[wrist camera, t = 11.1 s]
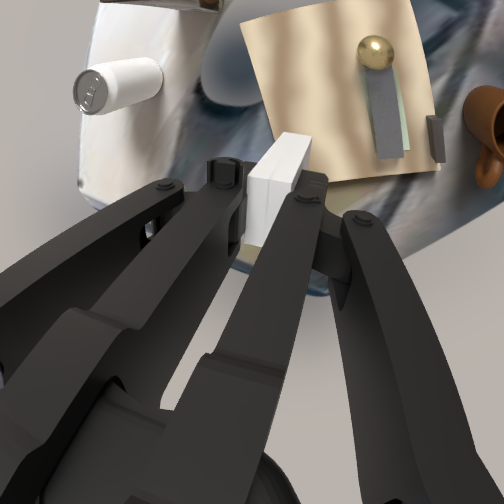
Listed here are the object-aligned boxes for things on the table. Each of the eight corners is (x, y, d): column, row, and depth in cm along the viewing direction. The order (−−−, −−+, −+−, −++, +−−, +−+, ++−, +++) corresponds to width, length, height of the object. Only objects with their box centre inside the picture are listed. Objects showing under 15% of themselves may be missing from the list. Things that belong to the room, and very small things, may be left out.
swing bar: (353, 38, 28) (354, 36, 26) (386, 36, 27) (390, 33, 24) (373, 153, 35) (375, 162, 33) (404, 151, 34) (408, 160, 31)
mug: (483, 179, 34) (510, 210, 27) (439, 153, 35) (461, 180, 27) (517, 104, 27) (554, 120, 19) (473, 73, 27) (505, 80, 20)
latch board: (404, -4, 25) (412, -12, 21) (436, 165, 36) (446, 178, 32) (244, 25, 32) (230, 21, 29) (290, 182, 43) (283, 197, 39)
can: (171, 70, 38) (118, 81, 29) (151, 107, 42) (98, 128, 32) (138, 49, 37) (81, 57, 28) (120, 86, 41) (64, 103, 31)
